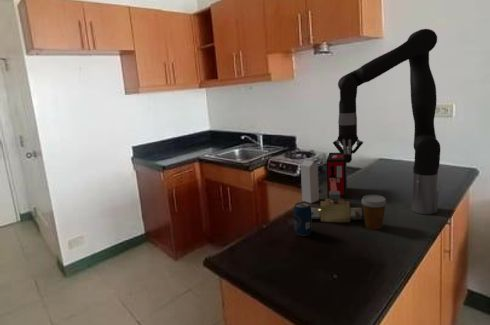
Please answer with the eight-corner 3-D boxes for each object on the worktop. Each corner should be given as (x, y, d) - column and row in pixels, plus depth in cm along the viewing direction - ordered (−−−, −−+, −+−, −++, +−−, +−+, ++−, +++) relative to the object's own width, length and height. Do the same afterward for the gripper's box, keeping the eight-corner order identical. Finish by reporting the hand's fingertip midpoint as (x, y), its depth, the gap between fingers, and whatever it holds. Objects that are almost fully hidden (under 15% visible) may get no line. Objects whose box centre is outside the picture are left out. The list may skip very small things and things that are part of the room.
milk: (310, 203, 166) (309, 160, 161) (301, 200, 171) (300, 158, 165) (319, 200, 169) (317, 157, 164) (310, 197, 174) (308, 156, 169)
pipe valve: (360, 215, 147) (360, 195, 144) (362, 222, 140) (362, 201, 138) (302, 215, 152) (301, 195, 150) (302, 221, 145) (301, 201, 143)
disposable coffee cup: (385, 222, 139) (386, 194, 136) (386, 232, 130) (387, 203, 127) (361, 220, 142) (361, 194, 139) (361, 230, 133) (361, 202, 130)
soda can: (291, 231, 137) (290, 203, 134) (305, 227, 140) (304, 200, 137) (300, 238, 131) (299, 209, 128) (315, 233, 134) (314, 205, 131)
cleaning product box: (330, 187, 187) (329, 152, 182) (346, 188, 184) (346, 152, 179) (327, 197, 172) (326, 159, 167) (345, 198, 169) (345, 159, 164)
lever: (340, 200, 141) (340, 194, 140) (329, 200, 142) (329, 194, 141) (337, 187, 158) (337, 181, 158) (328, 187, 159) (328, 181, 159)
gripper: (365, 121, 143) (365, 161, 147) (334, 122, 150) (335, 159, 154) (361, 124, 137) (361, 165, 141) (329, 124, 144) (330, 163, 148)
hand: (347, 162), depth 147 cm, fingers closed
